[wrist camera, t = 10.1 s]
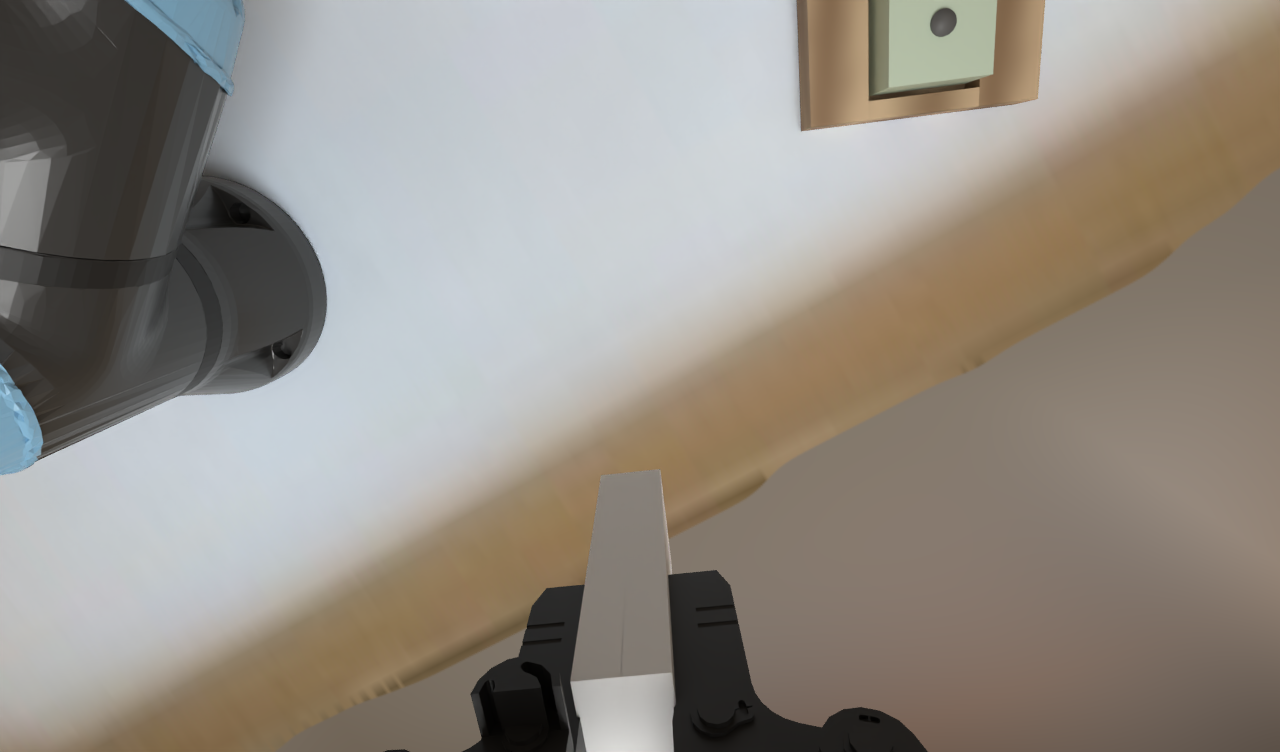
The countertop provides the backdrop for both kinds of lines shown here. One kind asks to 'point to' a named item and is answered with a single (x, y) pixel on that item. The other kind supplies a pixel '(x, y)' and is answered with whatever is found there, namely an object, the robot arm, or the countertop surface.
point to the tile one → (929, 43)
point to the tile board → (842, 91)
